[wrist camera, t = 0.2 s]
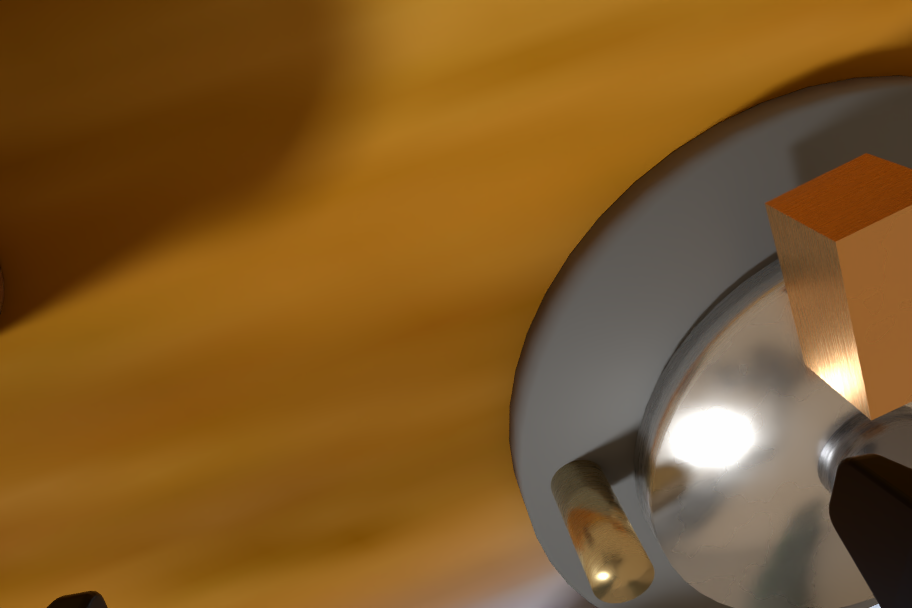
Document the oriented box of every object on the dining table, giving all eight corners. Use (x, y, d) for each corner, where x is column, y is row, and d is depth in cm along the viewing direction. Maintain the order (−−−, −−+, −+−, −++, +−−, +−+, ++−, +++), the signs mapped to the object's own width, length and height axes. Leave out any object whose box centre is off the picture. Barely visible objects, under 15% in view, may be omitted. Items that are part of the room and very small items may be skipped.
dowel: (603, 497, 25) (653, 596, 21) (551, 507, 25) (591, 608, 21) (603, 455, 25) (655, 550, 21) (549, 465, 24) (591, 562, 20)
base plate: (993, 549, 34) (1029, 581, 32) (523, 647, 32) (535, 687, 30) (1182, 35, 23) (1253, 41, 21) (487, 124, 21) (501, 139, 19)
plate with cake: (1051, 475, 28) (1171, 561, 24) (699, 635, 29) (757, 743, 25) (1038, 35, 20) (1222, 53, 16) (536, 284, 21) (586, 363, 16)
